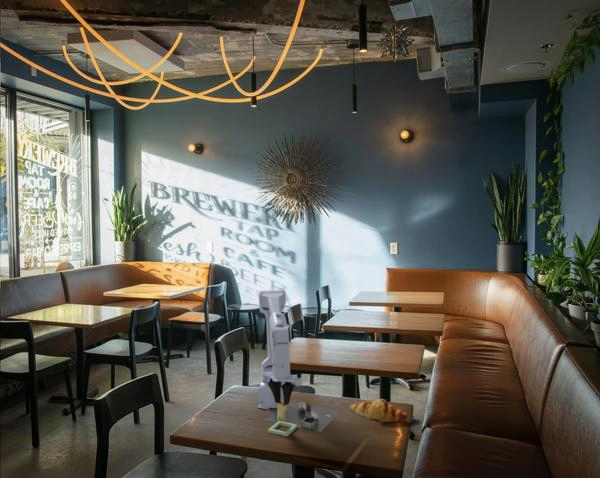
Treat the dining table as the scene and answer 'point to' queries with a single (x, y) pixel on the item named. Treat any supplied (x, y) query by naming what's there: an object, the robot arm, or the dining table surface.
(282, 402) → the olive brown rounded cylinder
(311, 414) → the crank
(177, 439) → the dining table surface
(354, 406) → the croissant
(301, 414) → the crank plate
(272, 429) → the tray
